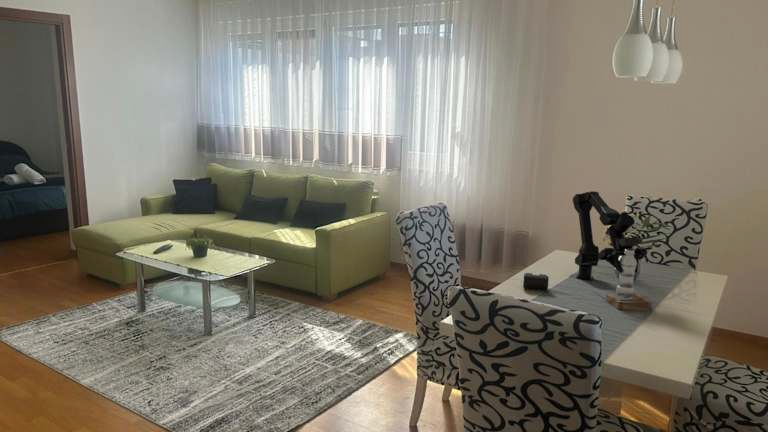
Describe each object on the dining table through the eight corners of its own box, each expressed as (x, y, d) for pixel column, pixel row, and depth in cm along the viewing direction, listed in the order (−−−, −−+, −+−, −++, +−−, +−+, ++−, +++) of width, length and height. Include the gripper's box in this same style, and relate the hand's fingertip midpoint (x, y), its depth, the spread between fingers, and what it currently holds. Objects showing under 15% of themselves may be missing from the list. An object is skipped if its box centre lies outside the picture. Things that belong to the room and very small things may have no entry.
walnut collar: (605, 300, 234) (606, 293, 234) (636, 300, 236) (636, 293, 236) (619, 310, 224) (620, 302, 224) (651, 309, 226) (652, 302, 226)
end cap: (522, 291, 243) (524, 275, 242) (522, 286, 250) (524, 271, 249) (547, 293, 241) (548, 278, 240) (546, 288, 248) (548, 273, 246)
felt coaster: (592, 291, 246) (592, 290, 246) (618, 290, 248) (618, 289, 248) (607, 300, 235) (607, 299, 234) (634, 300, 236) (634, 299, 236)
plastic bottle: (625, 300, 229) (631, 252, 225) (611, 295, 235) (617, 248, 230) (636, 298, 232) (642, 250, 228) (622, 293, 238) (628, 246, 233)
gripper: (605, 228, 230) (616, 263, 222) (648, 228, 233) (661, 263, 224) (593, 242, 239) (603, 276, 231) (635, 242, 242) (646, 275, 234)
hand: (628, 272), depth 230 cm, fingers closed on plastic bottle, 6 cm apart
